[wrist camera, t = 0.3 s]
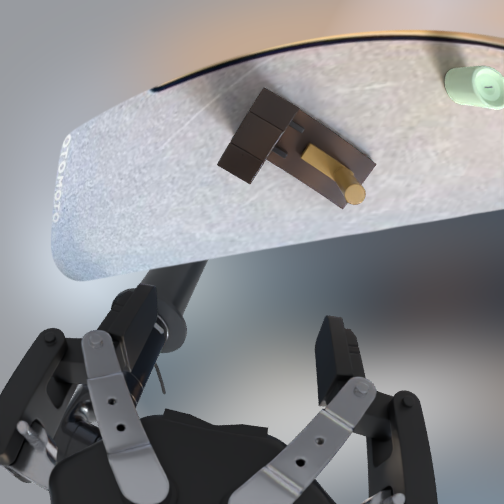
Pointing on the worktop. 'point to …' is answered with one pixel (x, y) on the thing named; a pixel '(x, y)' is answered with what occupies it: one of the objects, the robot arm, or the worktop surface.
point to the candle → (476, 86)
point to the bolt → (335, 173)
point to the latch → (289, 146)
